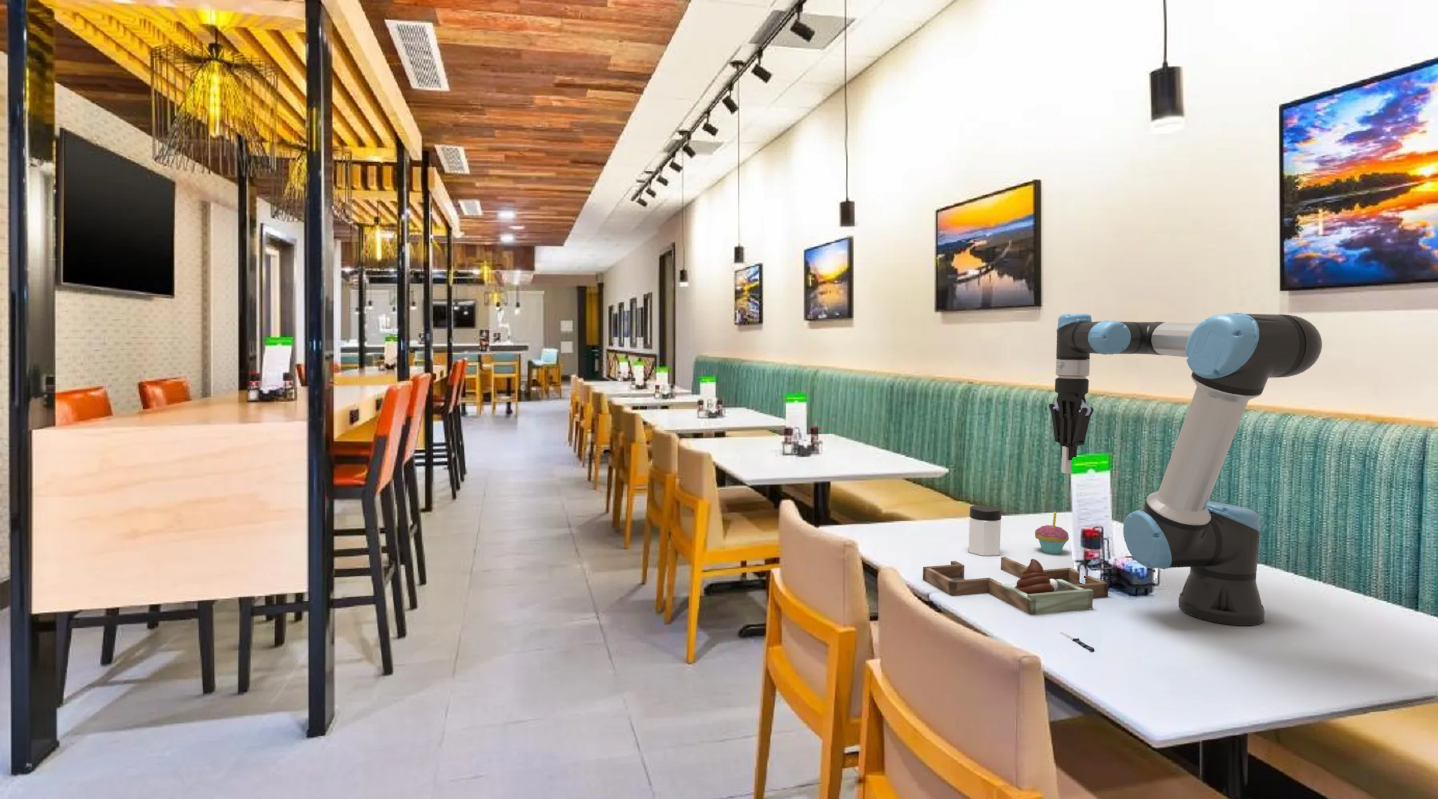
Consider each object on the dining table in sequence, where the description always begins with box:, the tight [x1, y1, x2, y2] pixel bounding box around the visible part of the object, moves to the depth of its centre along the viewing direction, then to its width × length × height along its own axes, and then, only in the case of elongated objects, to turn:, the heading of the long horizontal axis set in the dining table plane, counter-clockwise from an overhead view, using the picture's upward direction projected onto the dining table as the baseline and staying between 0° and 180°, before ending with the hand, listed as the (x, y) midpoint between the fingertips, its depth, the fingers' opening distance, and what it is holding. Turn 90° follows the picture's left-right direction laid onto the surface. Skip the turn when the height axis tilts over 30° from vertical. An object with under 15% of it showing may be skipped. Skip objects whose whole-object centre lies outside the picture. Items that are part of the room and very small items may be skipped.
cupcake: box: [1034, 509, 1070, 555], centre depth 211 cm, size 9×8×12 cm
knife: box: [1059, 631, 1095, 652], centre depth 152 cm, size 19×2×1 cm, turn 17°
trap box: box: [922, 556, 1110, 616], centre depth 178 cm, size 30×34×4 cm
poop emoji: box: [1013, 558, 1058, 594], centre depth 170 cm, size 10×8×9 cm
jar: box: [968, 504, 1003, 557], centre depth 210 cm, size 9×8×12 cm
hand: (1067, 472), depth 193 cm, fingers closed
